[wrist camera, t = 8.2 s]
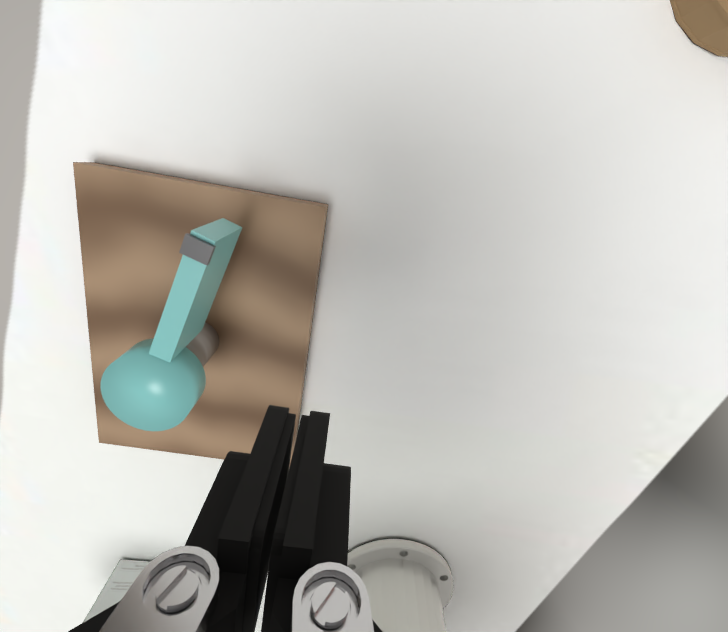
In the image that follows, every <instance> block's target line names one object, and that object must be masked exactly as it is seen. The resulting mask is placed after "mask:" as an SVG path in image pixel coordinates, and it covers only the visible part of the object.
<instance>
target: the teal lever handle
mask: <svg viewBox="0 0 728 632" xmlns="http://www.w3.org/2000/svg"><path fill="white" fill-rule="evenodd" d="M241 230H242V227H241V226H239V225H237V224H234V223H232V222H230V221H228V220H226V219H224V218H222V219H219V220H216V221H214V222H211V223H209V224H206V225H203V226H201V227H198V228H196V229H193V230H191V233H190V234H189V233H187V234H185V237H184V239H183V242H182V245H181V248H180V251H179V253H181V254H183V256H182V259H181V262H180V264H179V267H178V270H177V273H176V276H175V279H174V282H173V285H172V287H171V290H170V293H169V296H168V299H167V302H166V305H165V308H164V311H163V313H162V316H161V319H160V322H159V325H158V328H157V331H156V334H155V336H154V338H152V339H146V340H143V341H141V342H139V343H137V344H135V345H134V346H133V347H131V348H130V349H129V350H128V351H126V352H125V353H124V354H123V355H121V356H120V357H119V358H117V359H116V360H115V361H114V362H112V363H111V364H110V365H109V366H108V367H107V368H106V370H105V371H104V373H103V375H102V378H101V386H100V387H101V393H102V397H103V399H104V402H105V403H106V405H107V407H108V408H109V409H110V411H111V412H112V413H113V414H114V415H115V416H116V417H117V418H119V419H120V420H121V421H123V422H124V423H126V424H128V425H130V426H132V427H134V428H137V429H141V430H145V431H164V430H168V429H171V428H173V427H175V426H177V425H179V424H180V423H181V422H182V421H183V420H184V419H185V418H186V417H187V415H188V414H189V412H190V411H191V409H192V408H193V407H194V405H195V404H196V402H197V401H198V399H199V398H200V397H201V395H202V393H203V391H204V389H205V384H206V376H205V371H204V368H203V366H202V364H201V362H200V361H199V359H198V358H197V357H196V355H195V354H194V353H193V352H192V351H190V350H189V349H188V348H186V346H187V345H188V344H189V343H190V342H191V341H192V340H193V339H194V338H195V337H196V336H197V335H198V334H199V333H200V332H201V331H202V329H203V326H204V324H205V321H206V319H207V316H208V314H209V311H210V309H211V306H212V304H213V301H214V298H215V296H216V293H217V291H218V288H219V286H220V283H221V281H222V278H223V276H224V273H225V271H226V268H227V265H228V263H229V260H230V258H231V255H232V253H233V250H234V248H235V245H236V243H237V240H238V237H239V235H240V232H241Z"/></svg>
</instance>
